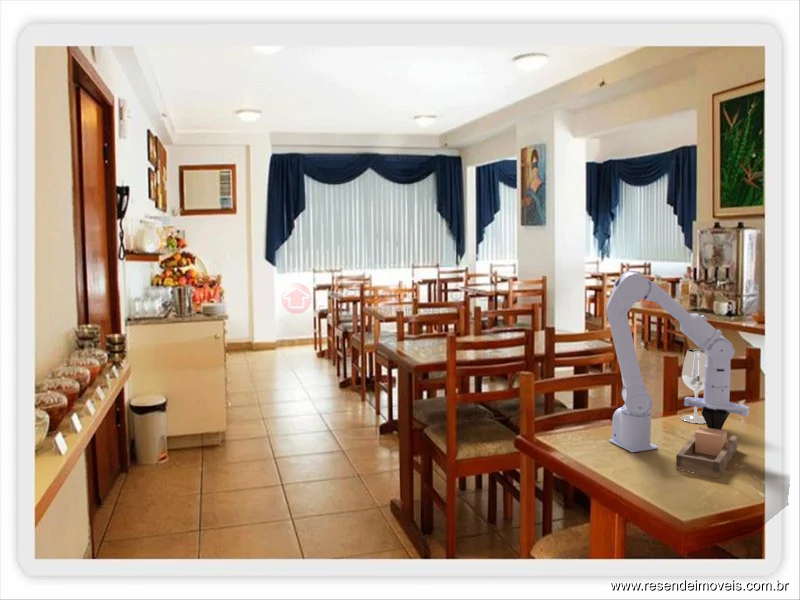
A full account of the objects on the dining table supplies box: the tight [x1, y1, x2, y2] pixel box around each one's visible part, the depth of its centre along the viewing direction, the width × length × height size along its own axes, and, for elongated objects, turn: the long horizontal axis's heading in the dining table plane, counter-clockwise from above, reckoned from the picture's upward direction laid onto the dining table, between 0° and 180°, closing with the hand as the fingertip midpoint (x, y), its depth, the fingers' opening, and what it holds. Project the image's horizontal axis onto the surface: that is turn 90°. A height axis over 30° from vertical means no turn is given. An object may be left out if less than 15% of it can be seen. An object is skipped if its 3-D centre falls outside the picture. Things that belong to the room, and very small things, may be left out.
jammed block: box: [694, 426, 728, 456], centre depth 162 cm, size 5×6×5 cm
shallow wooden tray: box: [675, 434, 738, 479], centre depth 160 cm, size 22×9×4 cm, turn 144°
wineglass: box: [680, 348, 709, 425], centre depth 190 cm, size 8×8×20 cm
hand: (714, 438), depth 166 cm, fingers closed
